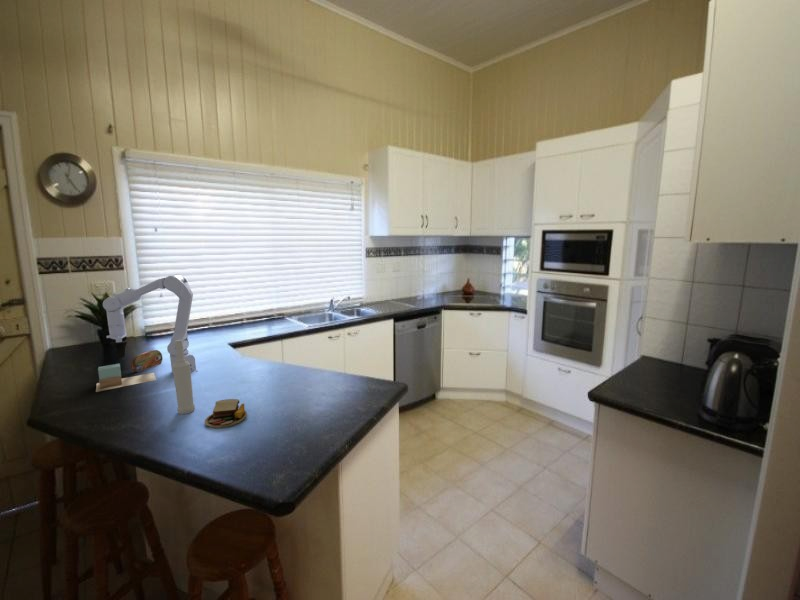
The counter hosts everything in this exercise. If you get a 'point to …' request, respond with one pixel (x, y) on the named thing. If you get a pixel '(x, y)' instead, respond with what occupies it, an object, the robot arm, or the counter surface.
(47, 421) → the counter surface
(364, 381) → the counter surface
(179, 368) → the bottle
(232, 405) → the toy sandwich meal
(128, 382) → the birch board
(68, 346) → the counter surface
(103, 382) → the walnut block
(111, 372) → the teal brick
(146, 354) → the tin
